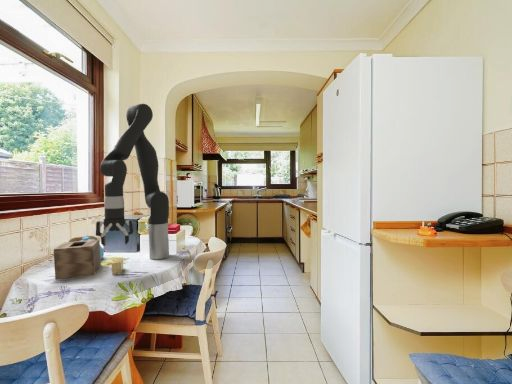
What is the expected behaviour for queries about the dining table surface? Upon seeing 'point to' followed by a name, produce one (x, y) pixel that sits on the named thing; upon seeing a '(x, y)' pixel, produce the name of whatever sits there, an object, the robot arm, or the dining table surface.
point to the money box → (77, 258)
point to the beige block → (117, 266)
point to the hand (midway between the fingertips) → (115, 244)
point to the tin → (81, 238)
